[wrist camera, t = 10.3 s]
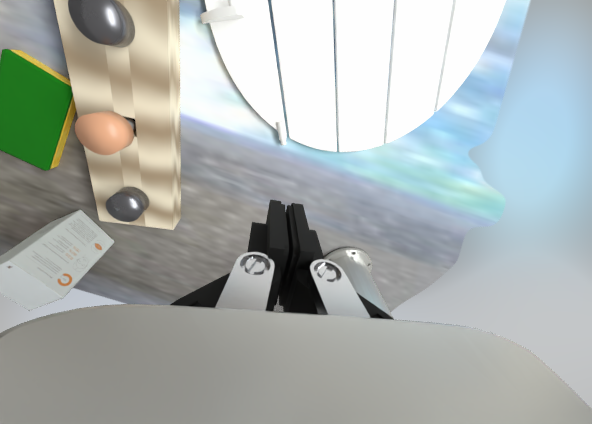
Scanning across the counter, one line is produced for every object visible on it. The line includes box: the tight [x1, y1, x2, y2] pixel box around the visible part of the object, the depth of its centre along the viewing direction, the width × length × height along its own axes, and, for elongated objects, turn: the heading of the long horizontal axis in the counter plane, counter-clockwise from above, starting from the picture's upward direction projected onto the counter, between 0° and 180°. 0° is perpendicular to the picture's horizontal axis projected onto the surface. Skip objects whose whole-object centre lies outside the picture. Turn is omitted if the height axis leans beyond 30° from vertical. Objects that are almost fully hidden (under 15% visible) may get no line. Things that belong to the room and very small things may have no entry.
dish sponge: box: [0, 49, 76, 171], centre depth 32 cm, size 7×14×2 cm, turn 142°
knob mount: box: [54, 0, 181, 230], centre depth 32 cm, size 32×11×4 cm, turn 167°
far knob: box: [106, 187, 149, 222], centre depth 36 cm, size 4×4×7 cm
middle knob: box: [75, 111, 136, 155], centre depth 28 cm, size 4×4×7 cm
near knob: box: [68, 0, 135, 48], centre depth 25 cm, size 4×4×7 cm
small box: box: [0, 210, 115, 311], centre depth 37 cm, size 8×6×13 cm
